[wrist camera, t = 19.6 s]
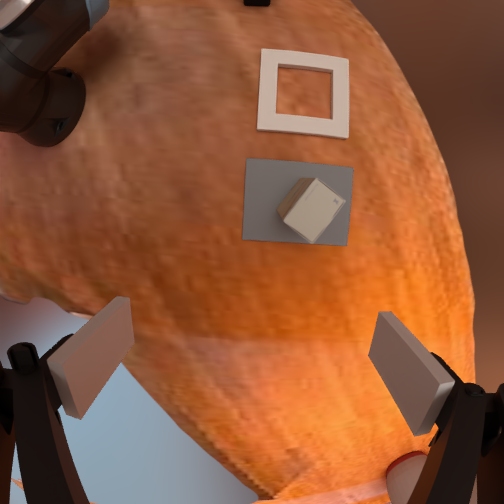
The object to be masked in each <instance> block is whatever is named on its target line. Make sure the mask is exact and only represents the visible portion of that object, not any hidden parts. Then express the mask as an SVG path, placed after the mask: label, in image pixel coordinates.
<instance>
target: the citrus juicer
mask: <svg viewBox="0 0 504 504" xmlns="http://www.w3.org/2000/svg"><path fill="white" fill-rule="evenodd" d="M426 459H427V455H426V454H424V453H422V452H413V453H409V454H407V455H405V456H403V457H401V458H399V459H397V460H396V461H395V462H394V463H392V464H391V465H390V467H389V468H388V470H387V475H386V479H387V480H386V484H387V491H388V495H389V498H390V501H391V503H392V504H407V502H408V500H409V498H410V496H411V494H412V492H413V490H414V487H415V485H416V483H417V481H418V478H419V476H420V474H421V471H422V469H423V466H424V464H425V461H426Z"/></svg>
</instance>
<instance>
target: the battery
mask: <svg viewBox="0 0 504 504" xmlns="http://www.w3.org/2000/svg"><path fill="white" fill-rule="evenodd" d="M244 5H247V6H269V5H270V0H244Z"/></svg>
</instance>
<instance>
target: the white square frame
mask: <svg viewBox="0 0 504 504" xmlns="http://www.w3.org/2000/svg"><path fill="white" fill-rule="evenodd" d="M278 67H285V68H295V69H305V70H313V71H320V72H327V73H331V119H323V118H315V117H306V116H297V115H286V114H276V94H277V71H278ZM257 131H268V132H282V133H294V134H305V135H314V136H323V137H331V138H339V139H348V138H349V63H348V59H345V58H339V57H334V56H327V55H321V54H314V53H306V52H297V51H287V50H275V49H262V52H261V70H260V87H259V105H258V122H257Z"/></svg>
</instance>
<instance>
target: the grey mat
mask: <svg viewBox="0 0 504 504" xmlns="http://www.w3.org/2000/svg"><path fill="white" fill-rule="evenodd" d="M300 178H318V179H320V180H321V181H322V182H324V183H325V184H326V185H328V186H329V187H330V188H331V189H333V190H334V191H335V192H336V193H337V194H338V195H340V196H341V197H342V198H343V199H344V200H345V201H346V202H345V203H344V205H343V206H342V208H341V209H340V210H339V212H338V213H337V214H336V216H335V217H334V218H333V220H332V221H331V222H330V224H329V225H328V226H327V228H326V229H325V230H324V231H323V233H322V234H321V235H320V236H319V237H318V239H317V240H316V241H315V242H314V243H313V244H324V245H339V246H347V240H348V231H349V221H350V210H351V198H352V184H353V168H351V167H343V166H335V165H326V164H317V163H307V162H296V161H283V160H269V159H252V158H247V159H246V177H245V196H244V215H243V235H242V240H258V241H275V242H292V243H308V244H311V243H310V242H308V241H307V240H306V239H304V238H303V237H302V236H301V235H299V234H298V233H297V232H296V231H294V230H293V229H292V228H291V227H290V226H288V225H287V224H286V223H285V222H283V220H282V218H281V217H280V215H279V213H278V212H277V210H276V209H277V207H278V206H279V205H280V203H281V202H282V201H283V199H284V198H285V197H286V195H287V194H288V193H289V191H290V190H291V189H292V188H293V186H294V185H295V184H296V183H297V182H298V180H299V179H300Z"/></svg>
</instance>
